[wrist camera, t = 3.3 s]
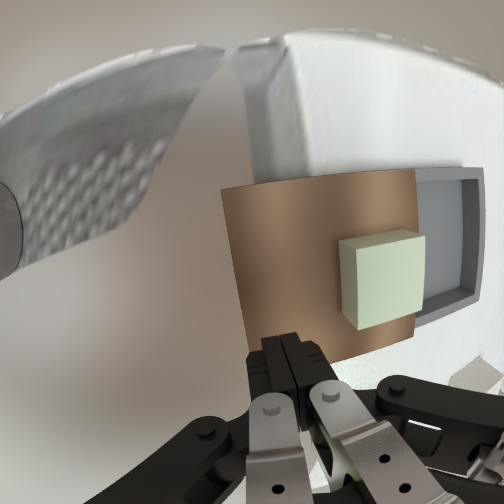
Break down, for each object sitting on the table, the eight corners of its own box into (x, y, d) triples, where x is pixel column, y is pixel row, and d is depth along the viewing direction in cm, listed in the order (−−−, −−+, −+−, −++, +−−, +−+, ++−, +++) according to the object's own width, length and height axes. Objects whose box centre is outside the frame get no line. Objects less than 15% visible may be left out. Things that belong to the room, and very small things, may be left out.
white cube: (449, 377, 27) (475, 401, 22) (478, 355, 28) (504, 375, 22) (444, 404, 29) (466, 427, 23) (472, 384, 29) (494, 404, 23)
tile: (342, 313, 18) (357, 330, 16) (338, 240, 17) (356, 249, 14) (402, 296, 18) (421, 309, 16) (402, 229, 17) (425, 235, 15)
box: (389, 316, 23) (406, 331, 20) (385, 170, 20) (406, 169, 17) (460, 291, 24) (478, 300, 21) (461, 167, 21) (482, 167, 18)
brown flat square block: (249, 351, 22) (255, 380, 19) (220, 189, 19) (220, 190, 15) (389, 316, 23) (413, 336, 19) (385, 170, 20) (414, 168, 16)
